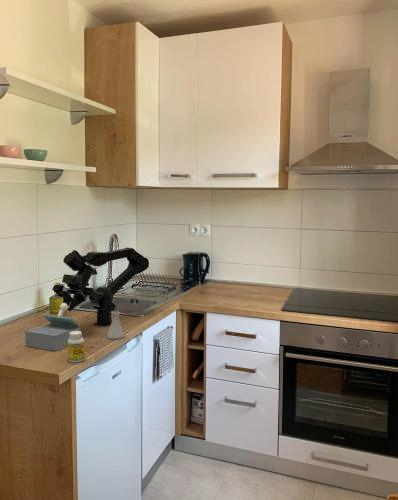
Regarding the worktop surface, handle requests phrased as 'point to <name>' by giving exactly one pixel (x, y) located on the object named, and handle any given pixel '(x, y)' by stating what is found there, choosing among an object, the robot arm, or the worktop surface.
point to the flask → (115, 328)
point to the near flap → (59, 318)
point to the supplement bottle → (76, 347)
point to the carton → (49, 336)
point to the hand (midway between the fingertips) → (65, 310)
